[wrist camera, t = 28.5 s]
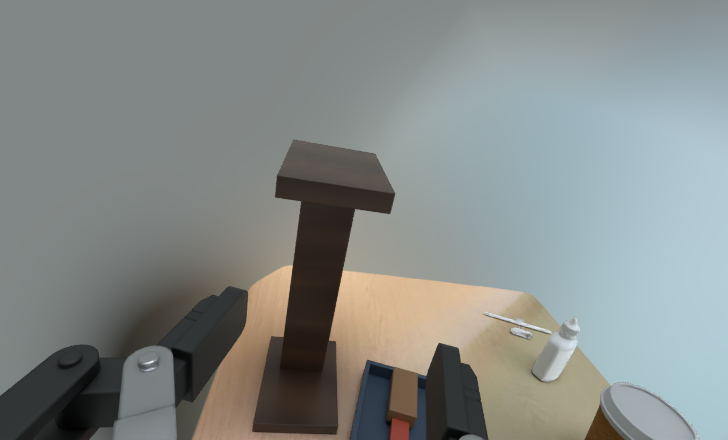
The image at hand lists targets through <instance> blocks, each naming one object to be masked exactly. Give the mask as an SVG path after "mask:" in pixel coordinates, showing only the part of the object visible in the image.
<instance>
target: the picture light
mask: <svg viewBox="0 0 728 440" xmlns="http://www.w3.org/2000/svg"><path fill="white" fill-rule="evenodd" d="M483 313H484V314H485V315H488V316H491V317H494V318H498V319H501V320H505V321H508V322H511V323H515V324H518V325H519V326H520V325H521V326H523V329H524V326H525V327H528V328H532V329H535V330H538V331H542V332H544V333H552V332H551V331H549V330H547V329H543V328H539V327H536V326H533V325H529V324H526V323H522V321H521V320H523V319H521V320H520V319H519V318H517V319H519V320H517V319H515V320H512V319H509V318H505V317H502V316H499V315H495V314H492V313H489V312H483ZM523 322H524V320H523ZM510 330H511V332H512V333H513V334H514V335H519V336H522V337H525V338H527V339H529V338H532V334H531V333H530V332H529V331H524V330H521V329H519V328H515V327H514V328H511V329H510Z"/></svg>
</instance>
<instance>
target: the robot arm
mask: <svg viewBox="0 0 728 440" xmlns="http://www.w3.org/2000/svg"><path fill="white" fill-rule="evenodd" d="M247 303H248V292H247V291H246V290H242V289H239V288H235V287H231V286H229V287H227V288H226V289H225V290H224V291H223V292H222V294H221V295H220V296H215V295H211V296H209V297H208V298H205V299H203V300H202V301H200V302H199V303H198V304H197V305H196V306H195V307H194V308H193V309H192V311H191V312H189V313H188V314H187V315H186V316H185V318H184V319H182V320H181V321H180V322H179V323H178V324H177V325H176V326H175V327H174V328H173V329H172V330H171V331H170V332H169V333H168V334H167V335H166V336H165V337H164V338H163V339H162V340H161V341H160V342H159V343H158V344H157V345H156V346H149V347H145V348H142V349H140V350H138V351H136V352H134V353H133V354H132V355H130V356H129V357H125V358H99V353H98V350H97V349H96V348H95V347H93V346H90V345H74V346H70V347H66V348H64V349H61V350H59V351H57V352H55V353H54V354H52V355H51V356H49V357H48V358H47V359H46V360H45V361H43V362H42V363H41V364H40V365H38V366H37V367H36V368H34V369H33V370H32V371H31V372H30V373H28V374H27V375H26V376H25V377H23V378H22V379H21V380H20V381H18V382H17V383H16V384H15V385H13V386H12V387H11V388H10V389H8V390H7V391H6V392H5V393H3V394H2V395H1V396H0V440H89V439H90V438H91V437H92V436H93V435H94V434H95V432H96V431H97V430H98V429H99V428H100V427H113V434H112V440H177V435H176V411H175V408H176V407H177V406H178V404H179V403H180V402H181V400H182V399H183V400H187V401H190V402H193V401H194V400H195V398H196V397H197V396H198V394H199V393H200V391H201V390H202V388H203V387H204V386H205V384H206V383H207V382H208V380H209V379H210V377H211V376H212V374H213V373H214V371H215V370H216V369H217V367H218V366H219V365H220V363H221V362H222V360H223V359H224V358H225V356H226V355H227V353H228V352H229V351H230V349H231V348H232V346H233V345H234V343H235V342H236V341H237V339H238V338H239V336H240V335H241V333H242V331H243V329H244V327H245V323H246V317H247ZM425 390H426V440H488V436H487V430H486V425H485V419H484V414H483V409H482V403H481V398H480V392H479V387H478V381H477V377H476V375H475V374H474V372H473V370H472V369H471V367H470V365H467V364H464V363H461V361H460V354H459V349H458V348H457V347H453V346H449V345H445V344H442V343H439V344H438V346H437V348H436V351H435V354H434V356H433V359H432V362H431V364H430V367H429V370H428V373H427V377H426V386H425Z"/></svg>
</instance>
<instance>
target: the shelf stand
mask: <svg viewBox="0 0 728 440" xmlns="http://www.w3.org/2000/svg"><path fill="white" fill-rule="evenodd" d="M275 197H276V198H283V199H289V200H296V201H301V208H300V215H299V223H298V231H297V239H296V247H295V254H294V262H293V269H292V277H291V285H290V292H289V300H288V308H287V315H286V323H285V331H284V337H274V336H271V340H270V345H269V350H268V355H267V360H266V365H265V369H264V374H263V379H262V384H261V389H260V393H259V398H258V403H257V408H256V413H255V417H254V422H253V432H282V433H313V434H336V432H337V428H338V409H337V371H336V341H329V337H330V332H331V327H332V322H333V317H334V312H335V307H336V302H337V297H338V292H339V287H340V282H341V277H342V272H343V267H344V262H345V257H346V251H347V246H348V242H349V237H350V231H351V227H352V222H353V217H354V212H355V209H359V210H366V211H373V212H379V213H387V214H390V213H391V209H392V205H393V201H394V197H395V192H394V190H393V188H392V186H391V184H390V182H389V180H388V178H387V176H386V174H385V172H384V171H383V168H382V167H381V165H380V162H379V160H378V158H377V157H376V154H373V153H368V152H362V151H356V150H351V149H345V148H339V147H333V146H328V145H322V144H316V143H310V142H305V141H298V140H293V142H292V144H291V146H290V148H289V150H288V153H287V155H286V157H285V159H284V161H283V164H282V166H281V168H280V170H279V173H278V175H277V182H276V192H275Z"/></svg>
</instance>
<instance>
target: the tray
mask: <svg viewBox="0 0 728 440" xmlns="http://www.w3.org/2000/svg"><path fill="white" fill-rule="evenodd" d="M393 368H394V367H392V366H388V365H384V364H381V363H377V362H374V361H370V360H367V362H366V366H365V369H364V373H363V378H362V383H361V387H360V392H359V397H358V402H357V407H356V411H355V416H354V421H353V426H352V430H351V435H350V440H388V434H389V426H390V425H387V424H386V416H387V407H388V398H389V389H390V380H391V375H392V372H393ZM426 377H427V376H424V375H420V374H418V390H417V419H416V421H415V424H414V426H413V428H412V427H411V430H410V431H409V440H426V390H425V386H426Z"/></svg>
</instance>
